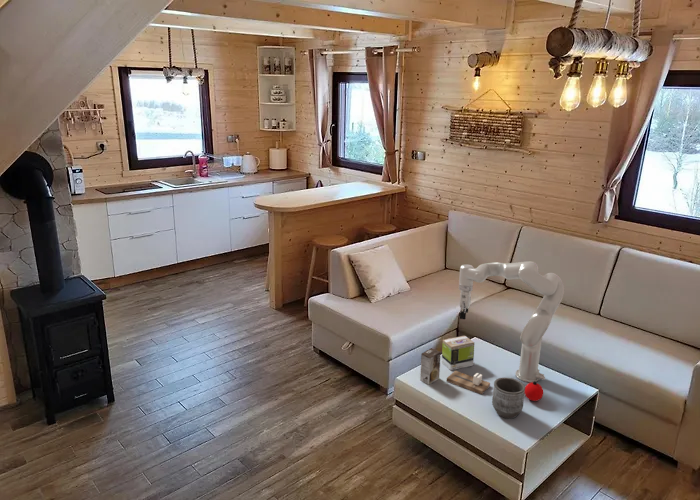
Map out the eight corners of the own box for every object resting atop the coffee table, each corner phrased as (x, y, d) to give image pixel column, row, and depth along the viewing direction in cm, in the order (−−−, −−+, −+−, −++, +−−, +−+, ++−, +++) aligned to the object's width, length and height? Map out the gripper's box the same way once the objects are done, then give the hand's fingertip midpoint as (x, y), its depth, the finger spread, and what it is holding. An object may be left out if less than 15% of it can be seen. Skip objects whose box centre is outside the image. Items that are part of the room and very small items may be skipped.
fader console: (489, 386, 273) (490, 382, 272) (481, 394, 265) (482, 390, 265) (455, 373, 284) (455, 370, 284) (446, 381, 277) (446, 377, 276)
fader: (481, 382, 272) (482, 374, 270) (478, 385, 269) (478, 377, 267) (476, 380, 274) (476, 372, 272) (472, 383, 271) (473, 375, 269)
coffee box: (429, 374, 284) (431, 347, 279) (439, 378, 279) (441, 351, 275) (419, 380, 278) (420, 353, 273) (429, 385, 273) (430, 357, 269)
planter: (493, 401, 259) (496, 374, 255) (523, 407, 254) (526, 380, 250) (489, 417, 247) (492, 389, 243) (520, 424, 242) (523, 396, 237)
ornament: (520, 399, 261) (522, 381, 258) (528, 392, 267) (530, 375, 264) (537, 406, 255) (539, 388, 252) (545, 399, 261) (547, 382, 258)
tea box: (463, 358, 301) (465, 334, 297) (473, 366, 292) (475, 342, 288) (440, 362, 296) (442, 338, 292) (450, 370, 287) (451, 346, 283)
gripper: (470, 293, 277) (468, 322, 282) (474, 282, 293) (472, 310, 298) (456, 291, 280) (454, 320, 285) (461, 280, 295) (459, 308, 300)
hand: (463, 315), depth 291 cm, fingers open, 9 cm apart
